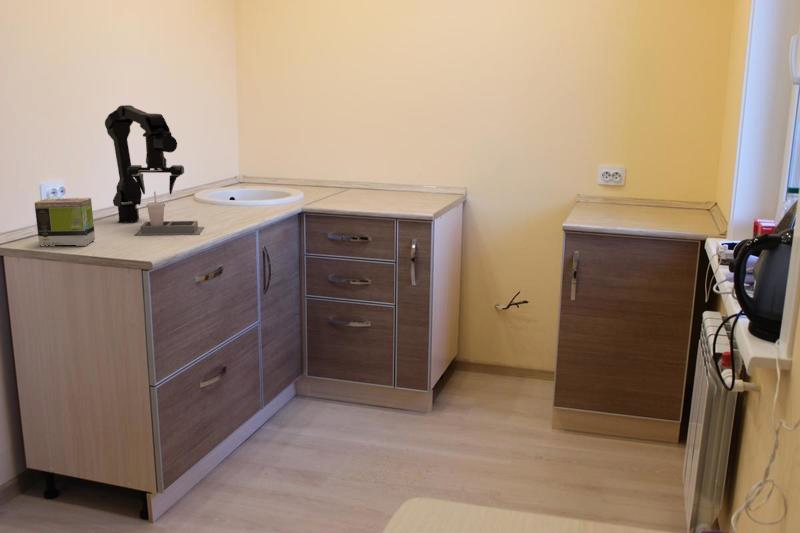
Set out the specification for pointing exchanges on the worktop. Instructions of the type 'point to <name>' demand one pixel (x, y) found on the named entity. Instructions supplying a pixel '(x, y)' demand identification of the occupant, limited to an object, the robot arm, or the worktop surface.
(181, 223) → the bottle carrier
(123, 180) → the robot arm
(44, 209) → the tea box
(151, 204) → the smoothie
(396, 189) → the worktop surface
